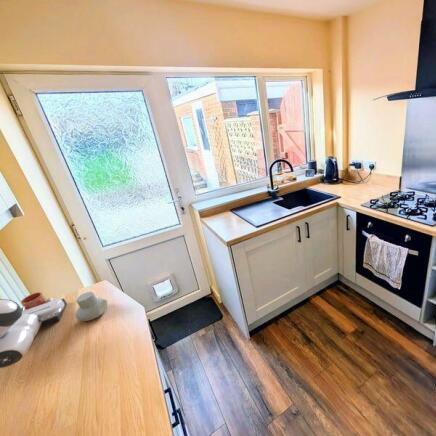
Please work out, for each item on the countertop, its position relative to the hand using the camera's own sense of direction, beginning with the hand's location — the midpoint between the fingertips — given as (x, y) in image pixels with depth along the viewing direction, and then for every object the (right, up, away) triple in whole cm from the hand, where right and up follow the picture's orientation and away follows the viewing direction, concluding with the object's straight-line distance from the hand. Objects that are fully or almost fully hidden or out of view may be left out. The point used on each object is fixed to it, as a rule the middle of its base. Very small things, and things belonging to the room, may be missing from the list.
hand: (36, 304), depth 103 cm
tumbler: (+1, -6, +2) cm, 7 cm away
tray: (+1, -7, +3) cm, 8 cm away
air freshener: (+23, -5, +2) cm, 24 cm away
